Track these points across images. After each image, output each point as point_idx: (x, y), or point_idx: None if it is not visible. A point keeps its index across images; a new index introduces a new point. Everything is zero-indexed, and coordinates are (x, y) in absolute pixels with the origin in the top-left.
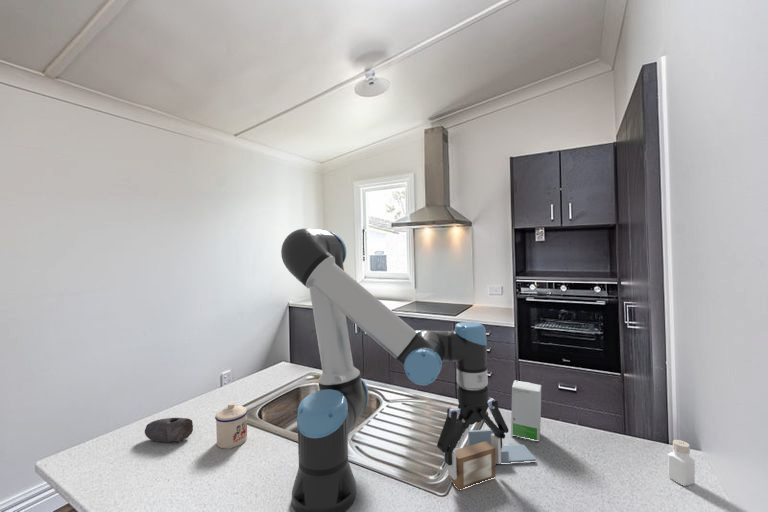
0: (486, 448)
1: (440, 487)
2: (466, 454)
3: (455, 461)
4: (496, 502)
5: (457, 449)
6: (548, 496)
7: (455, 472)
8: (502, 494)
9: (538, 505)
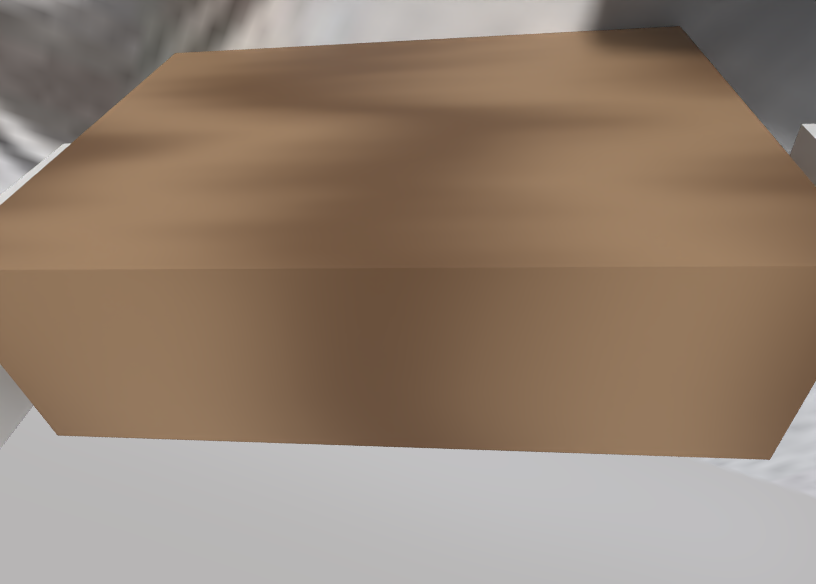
0: (624, 424)
1: (50, 81)
2: (204, 412)
3: (24, 402)
4: None
5: (77, 272)
6: (799, 433)
7: None
8: None
9: None
